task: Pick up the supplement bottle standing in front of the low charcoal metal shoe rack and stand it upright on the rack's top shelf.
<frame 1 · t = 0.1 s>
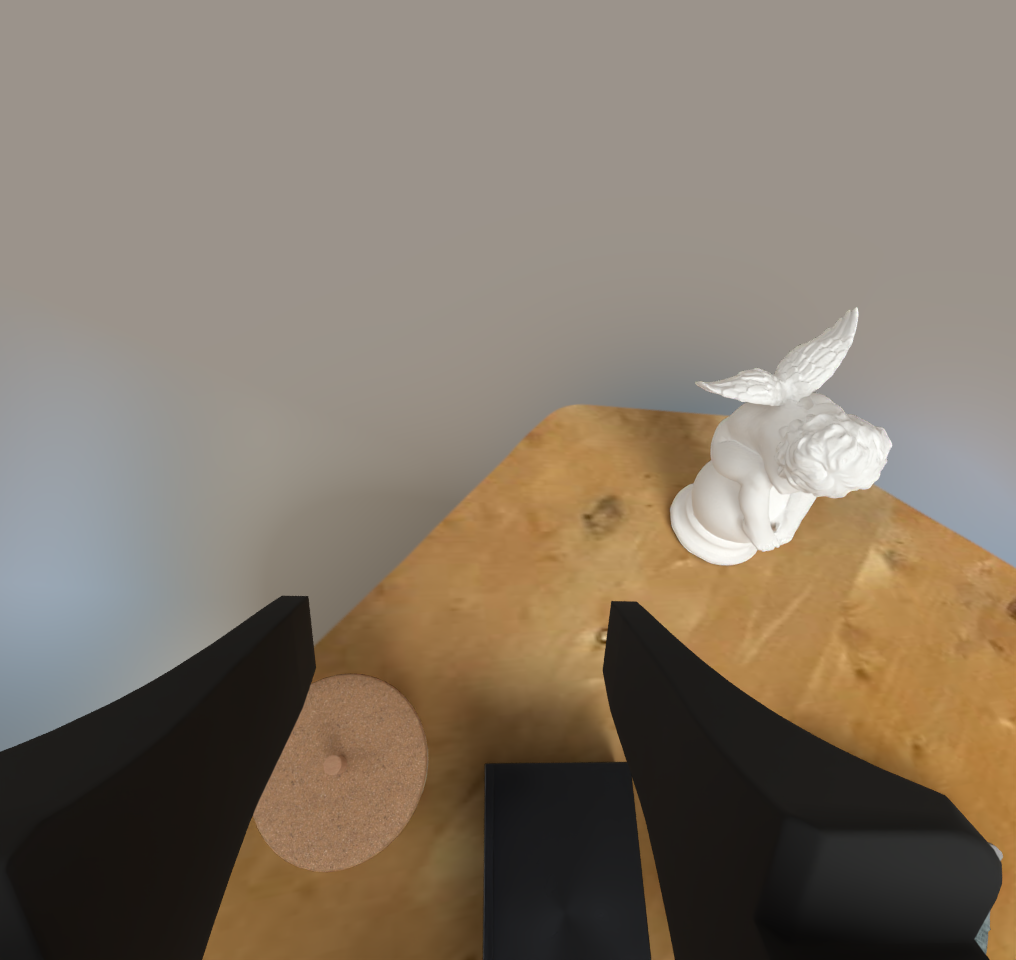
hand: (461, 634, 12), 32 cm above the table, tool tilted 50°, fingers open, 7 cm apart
packaged food: (882, 853, 38), on the table
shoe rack: (556, 895, 36), on the table
cherub figurine: (694, 514, 50), on the table
trinket box: (364, 764, 39), on the table
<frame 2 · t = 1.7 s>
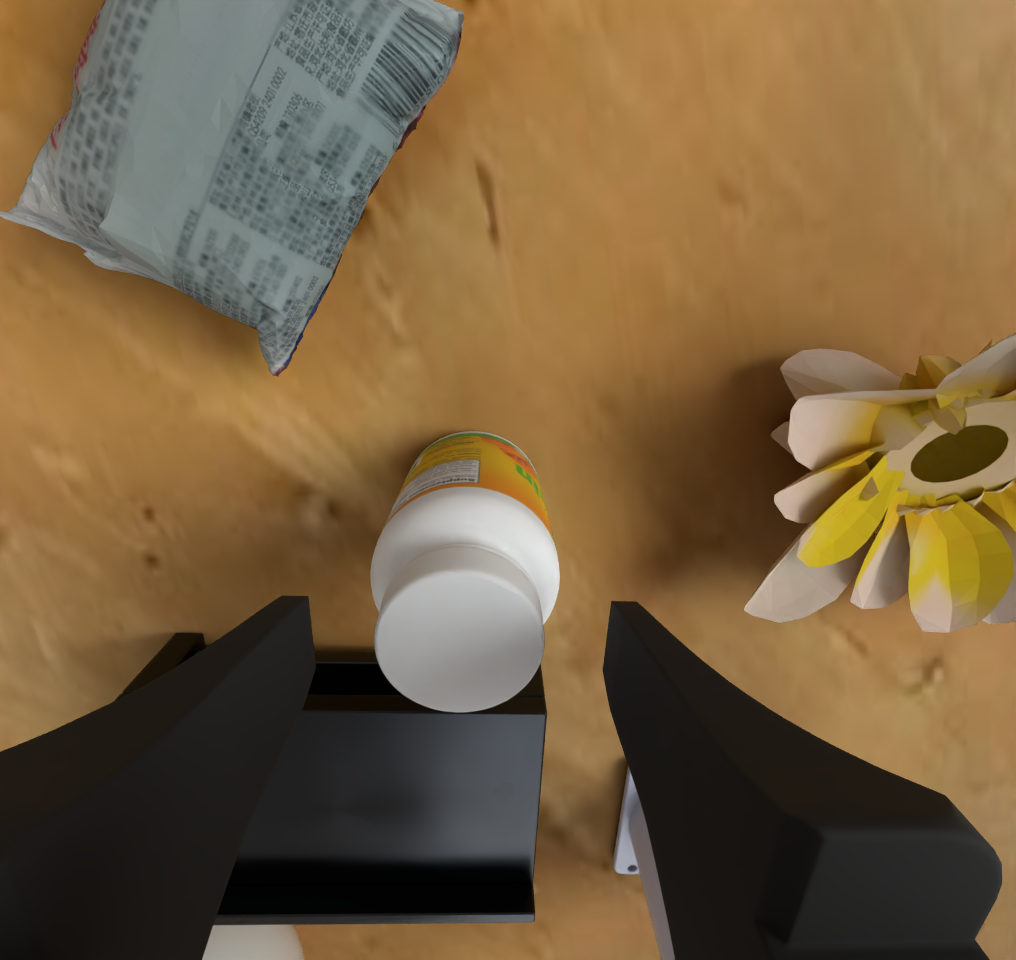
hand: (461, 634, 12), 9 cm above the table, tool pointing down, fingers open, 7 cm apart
packaged food: (263, 140, 17), on the table
decorative flower: (866, 454, 21), on the table
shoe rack: (365, 721, 25), on the table
trinket box: (237, 909, 30), on the table
supplement bottle: (473, 490, 21), on the table
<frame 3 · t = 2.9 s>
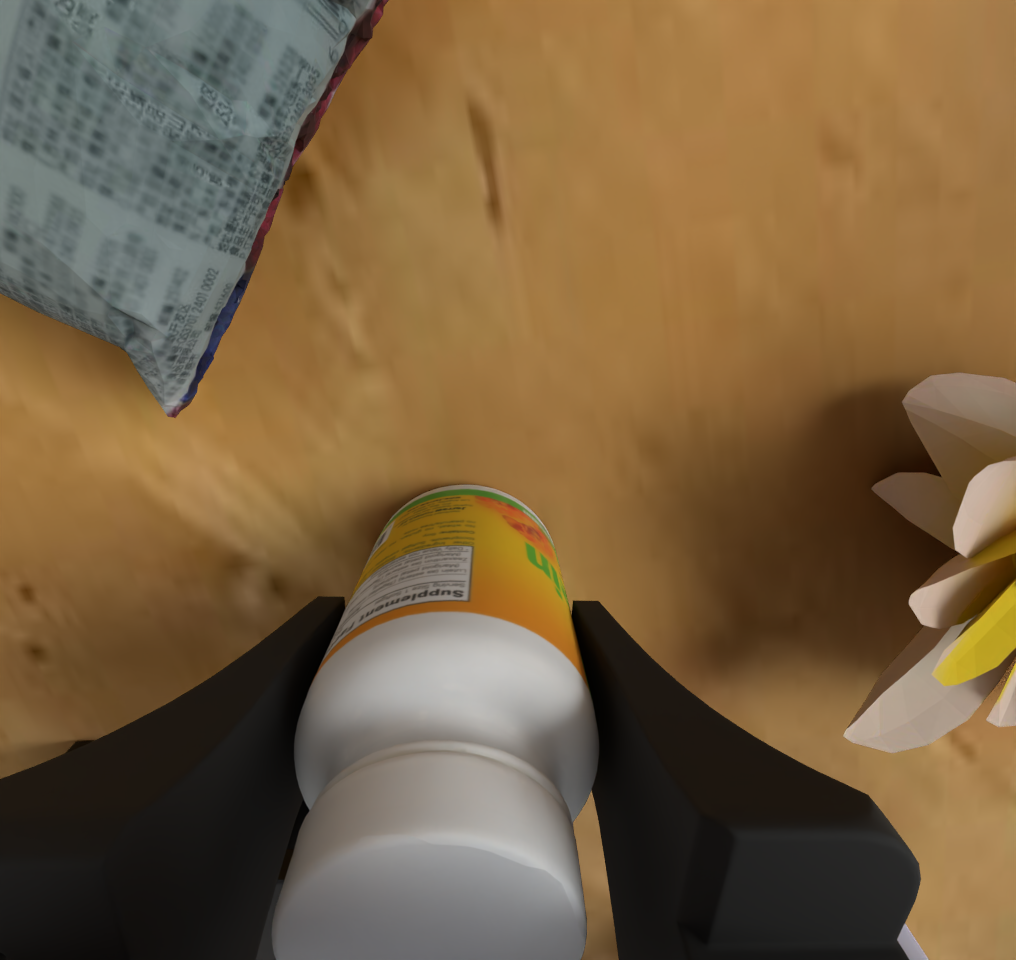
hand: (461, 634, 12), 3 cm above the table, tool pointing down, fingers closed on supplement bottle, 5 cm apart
packaged food: (152, 67, 11), on the table
decorative flower: (996, 512, 16), on the table
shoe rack: (329, 843, 20), on the table
supplement bottle: (466, 560, 16), on the table, touching gripper
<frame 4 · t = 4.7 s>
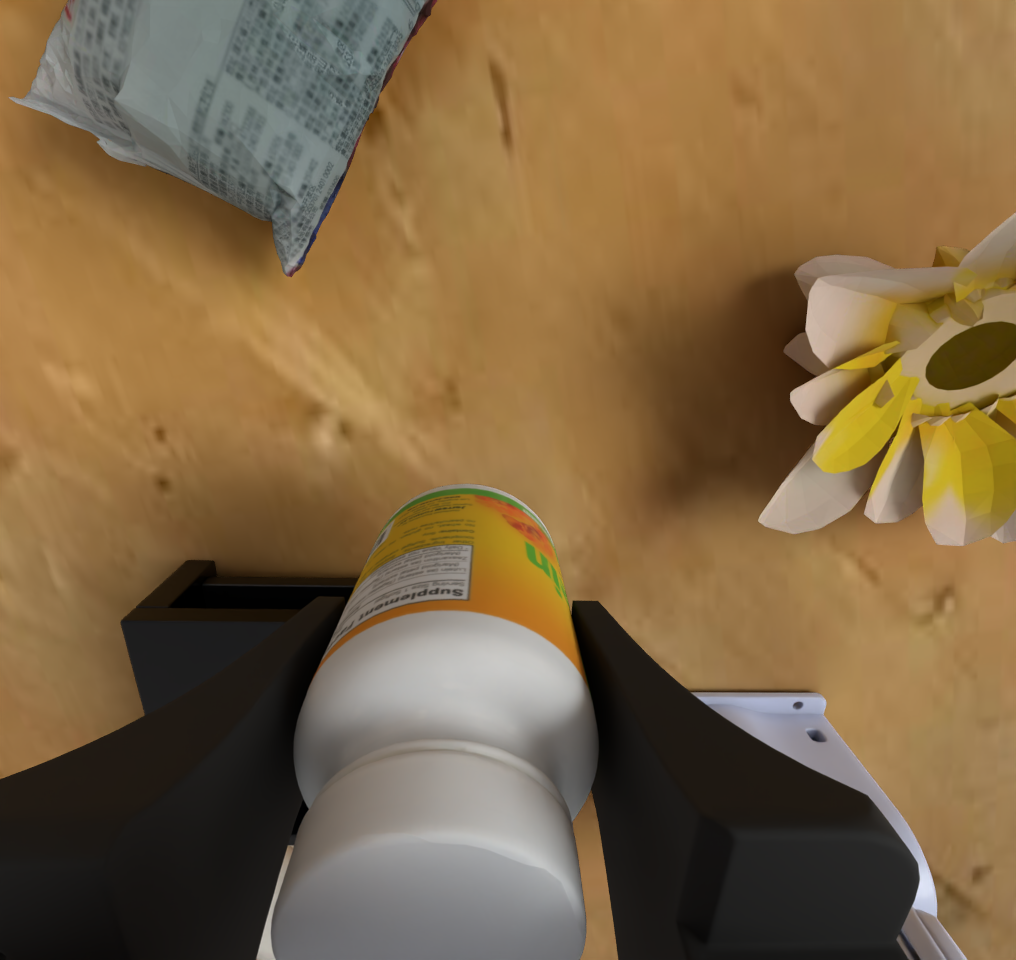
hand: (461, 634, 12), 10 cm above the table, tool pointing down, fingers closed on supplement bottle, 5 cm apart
packaged food: (275, 37, 17), on the table
decorative flower: (879, 372, 21), on the table
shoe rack: (376, 654, 25), on the table
trinket box: (248, 852, 30), on the table
supplement bottle: (466, 559, 16), point 7 cm above the table, touching gripper
when the fingers open (8 cm above the table, at t = 6.8 s): supplement bottle stays where it is, resting on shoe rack.
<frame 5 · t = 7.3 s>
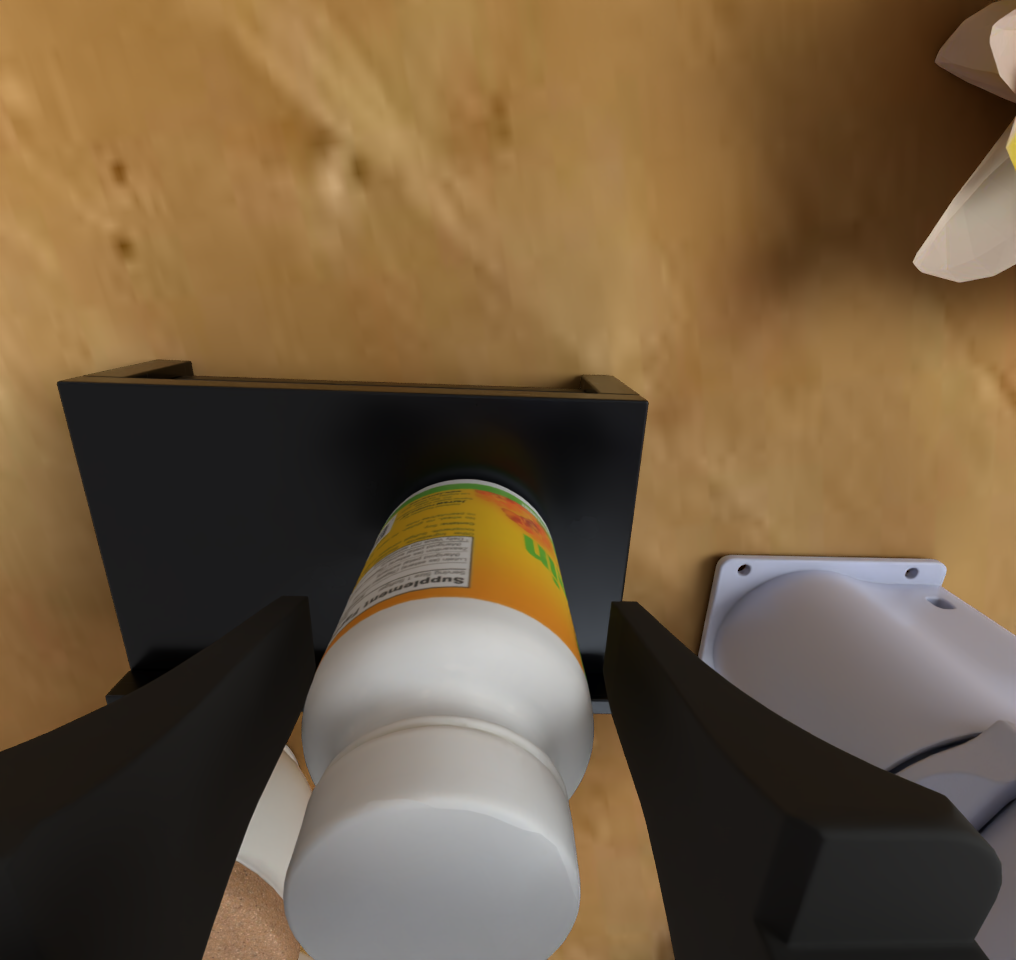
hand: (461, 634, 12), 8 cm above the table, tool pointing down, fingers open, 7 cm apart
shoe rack: (394, 498, 20), on the table
trinket box: (236, 765, 25), on the table
supplement bottle: (466, 553, 16), point 4 cm above the table, touching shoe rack
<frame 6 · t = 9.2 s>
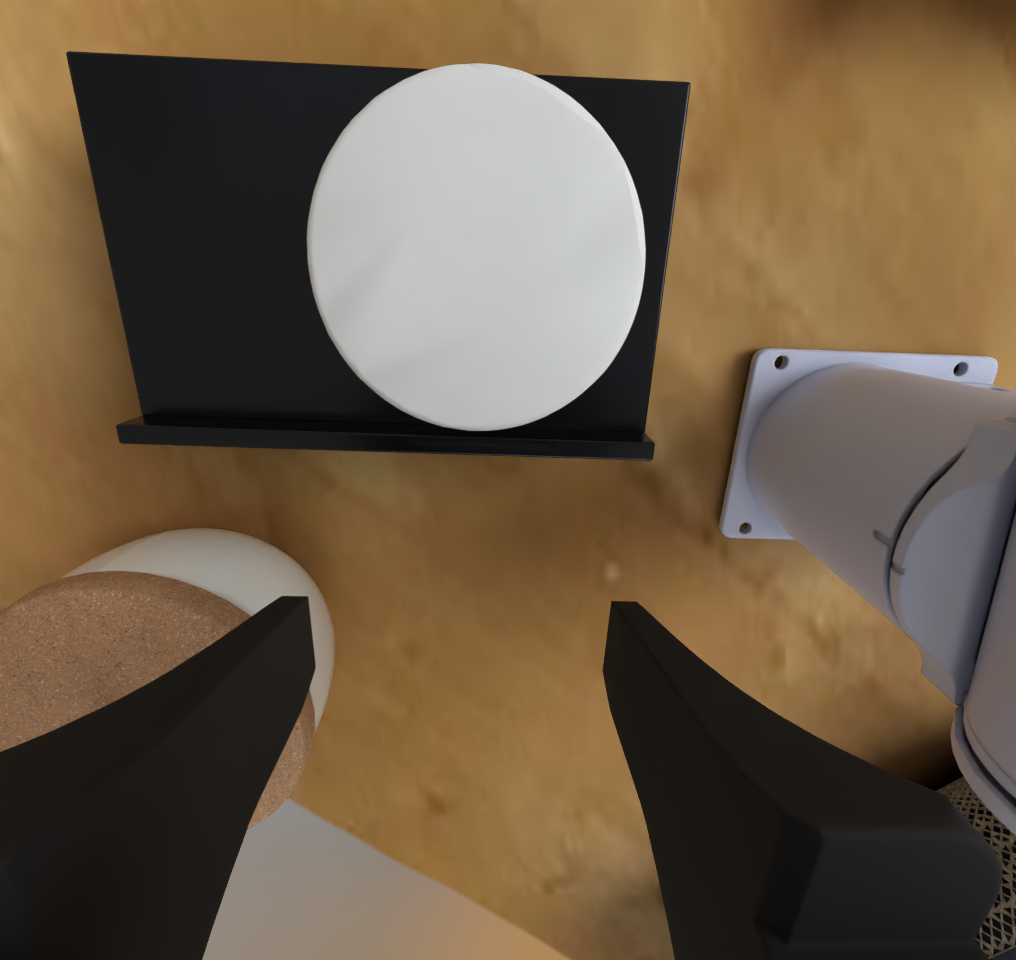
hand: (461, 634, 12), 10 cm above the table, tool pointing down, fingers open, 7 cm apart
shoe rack: (414, 277, 19), on the table
trinket box: (249, 594, 24), on the table
portable speaker: (878, 833, 30), on the table
supplement bottle: (493, 279, 15), point 4 cm above the table, touching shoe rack
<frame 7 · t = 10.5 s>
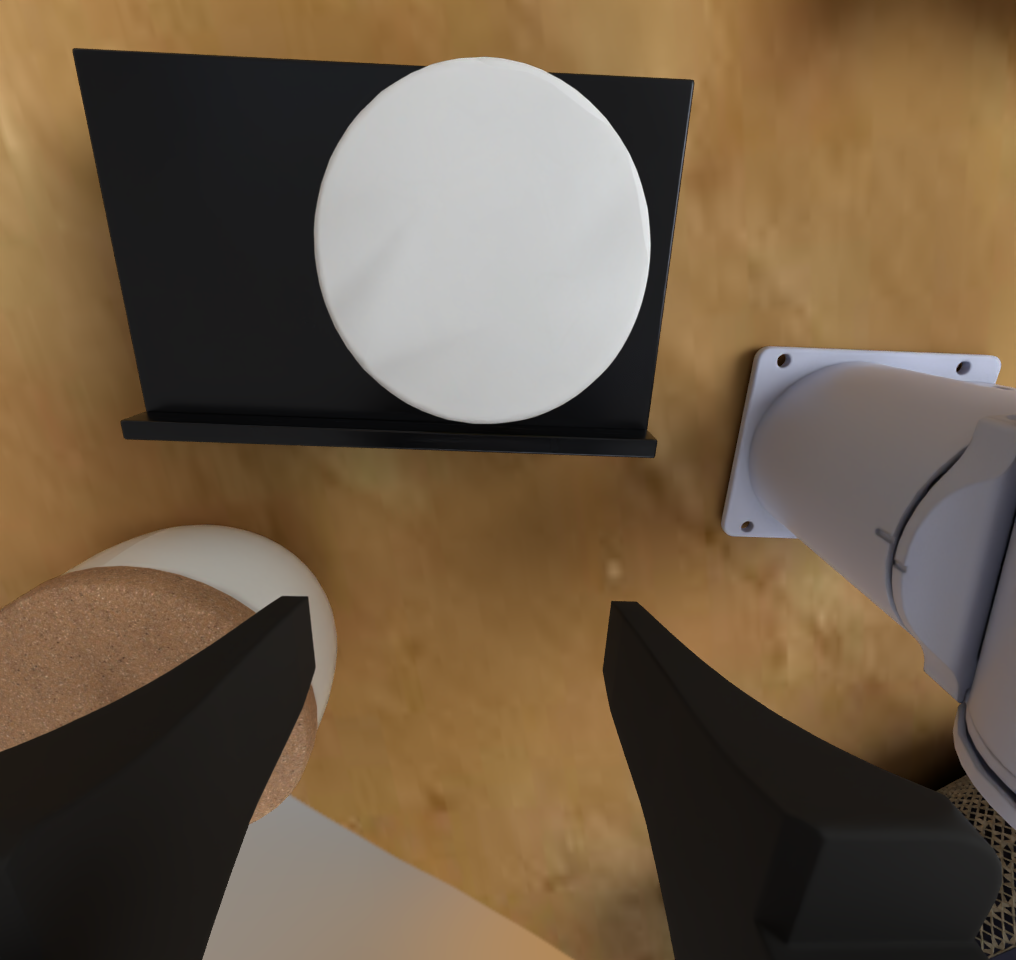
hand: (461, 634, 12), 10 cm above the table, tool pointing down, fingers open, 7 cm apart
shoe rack: (417, 275, 19), on the table
trinket box: (252, 591, 24), on the table
portable speaker: (879, 832, 30), on the table
supplement bottle: (496, 276, 15), point 4 cm above the table, touching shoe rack
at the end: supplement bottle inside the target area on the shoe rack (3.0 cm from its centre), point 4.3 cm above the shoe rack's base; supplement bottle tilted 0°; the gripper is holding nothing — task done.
